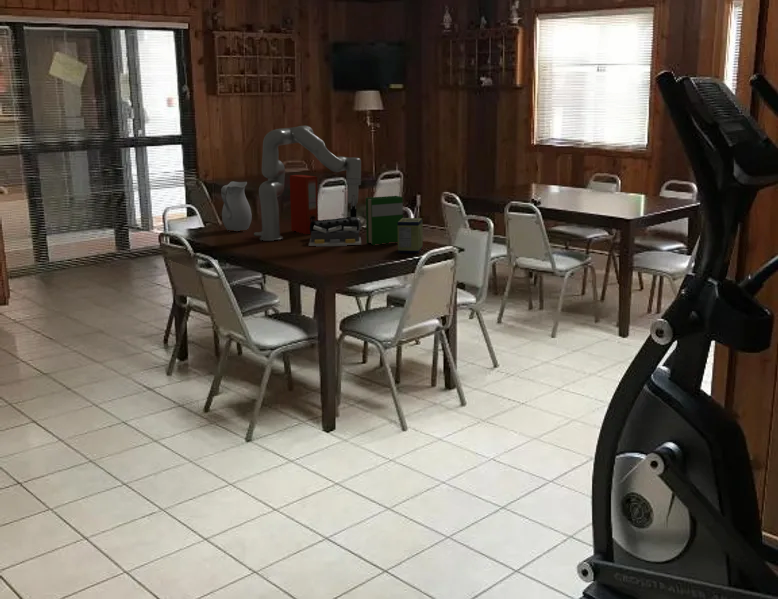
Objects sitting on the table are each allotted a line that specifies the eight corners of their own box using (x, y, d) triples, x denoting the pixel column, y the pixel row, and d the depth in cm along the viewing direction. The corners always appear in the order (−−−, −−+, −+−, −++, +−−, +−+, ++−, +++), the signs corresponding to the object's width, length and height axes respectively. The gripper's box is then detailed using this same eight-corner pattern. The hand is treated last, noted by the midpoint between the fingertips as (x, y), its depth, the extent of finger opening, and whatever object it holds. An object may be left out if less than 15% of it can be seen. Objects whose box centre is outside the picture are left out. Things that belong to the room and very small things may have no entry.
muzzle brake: (309, 238, 463) (308, 219, 461) (353, 233, 478) (352, 215, 476) (318, 240, 455) (317, 221, 453) (362, 235, 470) (361, 216, 468)
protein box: (422, 248, 427) (422, 217, 423) (418, 254, 412) (418, 222, 408) (402, 248, 429) (402, 217, 425) (397, 253, 414) (397, 222, 410)
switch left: (313, 228, 442) (313, 226, 442) (313, 227, 448) (314, 224, 447) (325, 233, 443) (326, 230, 443) (325, 231, 448) (326, 229, 448)
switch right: (343, 230, 443) (343, 227, 443) (343, 228, 448) (343, 226, 448) (356, 230, 443) (356, 228, 443) (356, 229, 449) (356, 226, 448)
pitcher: (232, 228, 502) (229, 180, 496) (257, 229, 497) (255, 181, 490) (211, 234, 481) (207, 184, 474) (237, 235, 475) (234, 185, 468)
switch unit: (308, 246, 436) (308, 234, 435) (310, 240, 455) (310, 228, 454) (361, 245, 437) (360, 233, 436) (360, 239, 456) (360, 227, 455)
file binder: (303, 229, 492) (301, 174, 484) (318, 233, 478) (317, 176, 470) (291, 231, 487) (289, 175, 480) (306, 235, 473) (304, 177, 466)
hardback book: (372, 245, 436) (371, 199, 431) (366, 243, 443) (365, 197, 437) (403, 242, 444) (402, 197, 438) (396, 240, 450) (396, 195, 445)
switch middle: (328, 232, 443) (328, 229, 443) (329, 230, 448) (328, 228, 448) (341, 229, 443) (340, 226, 442) (341, 227, 448) (340, 224, 448)
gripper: (346, 180, 447) (346, 214, 452) (346, 183, 433) (346, 218, 437) (360, 180, 448) (360, 214, 452) (361, 183, 433) (360, 218, 438)
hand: (353, 216), depth 445 cm, fingers closed
